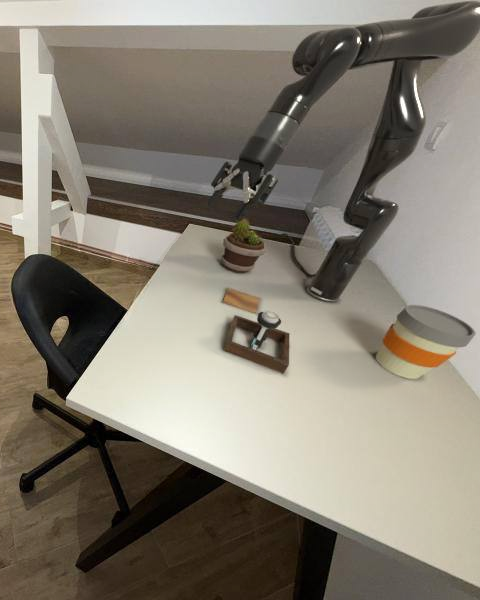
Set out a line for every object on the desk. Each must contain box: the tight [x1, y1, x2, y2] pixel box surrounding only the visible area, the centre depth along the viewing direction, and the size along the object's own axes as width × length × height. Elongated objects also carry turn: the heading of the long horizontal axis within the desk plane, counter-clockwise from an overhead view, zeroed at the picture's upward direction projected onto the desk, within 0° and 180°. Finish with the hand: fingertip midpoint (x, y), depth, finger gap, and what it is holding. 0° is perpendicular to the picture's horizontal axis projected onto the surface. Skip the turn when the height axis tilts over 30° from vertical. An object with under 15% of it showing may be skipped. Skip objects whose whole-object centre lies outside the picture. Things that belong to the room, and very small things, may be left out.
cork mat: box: [222, 287, 260, 314], centre depth 101 cm, size 10×10×1 cm
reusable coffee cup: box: [375, 304, 476, 380], centre depth 76 cm, size 13×13×15 cm
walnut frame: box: [223, 314, 290, 374], centre depth 82 cm, size 14×14×3 cm
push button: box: [249, 310, 282, 351], centre depth 80 cm, size 7×5×10 cm
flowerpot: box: [220, 218, 267, 274], centre depth 115 cm, size 14×15×20 cm
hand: (222, 213), depth 72 cm, fingers open, 8 cm apart
